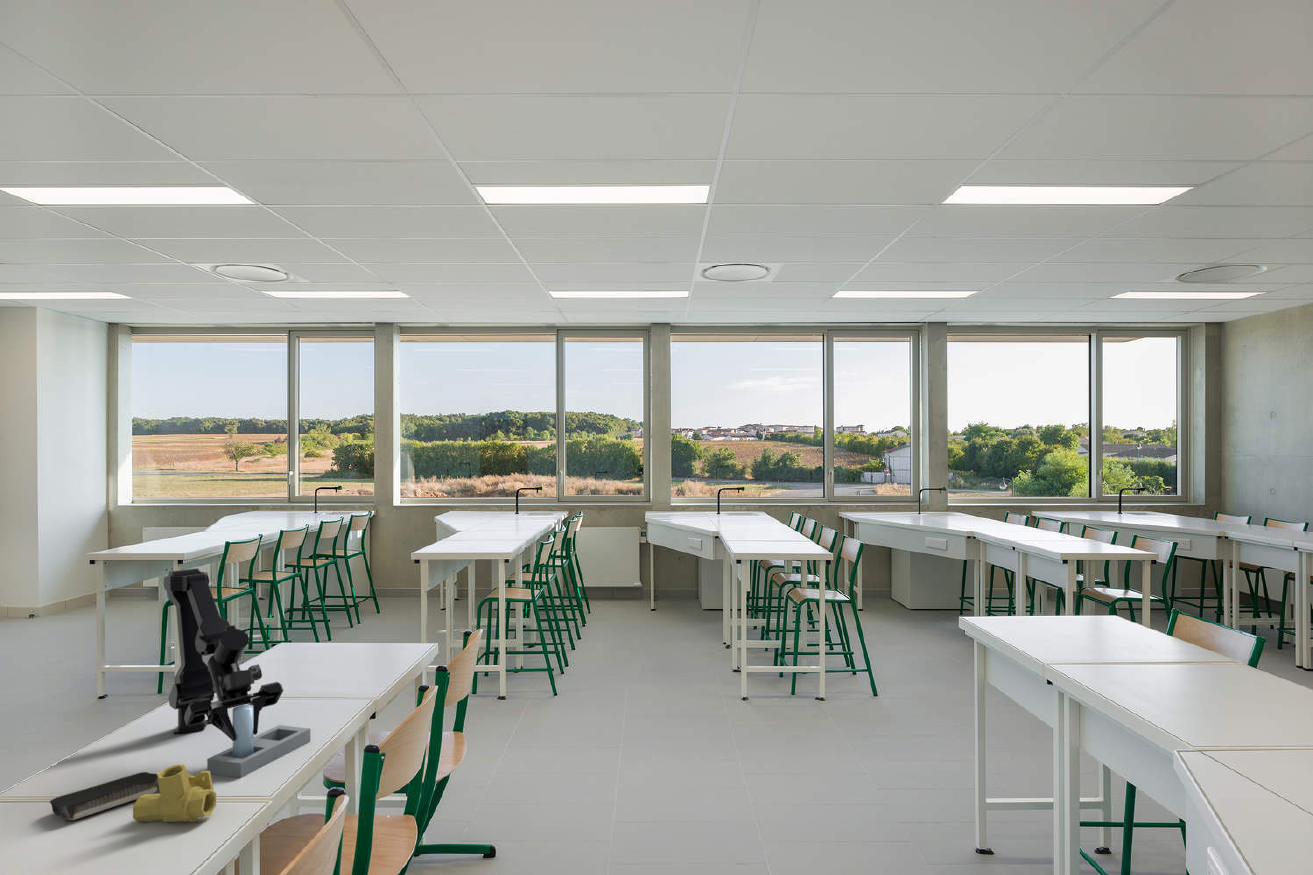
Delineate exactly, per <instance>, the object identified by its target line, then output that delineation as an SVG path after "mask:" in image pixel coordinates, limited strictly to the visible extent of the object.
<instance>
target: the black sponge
mask: <svg viewBox="0 0 1313 875" xmlns="http://www.w3.org/2000/svg"><path fill="white" fill-rule="evenodd" d="M157 774H158V773H152V772H151V773H149V772H147V771H144V772H143V771H142V772H137V773H134V774H131V775H127V776H123V777H121V778H117V779H114V780H111V781H107V782H104V783H101V784H97V785H94V786H90V787H87V788H85V789H81V790H77V791H75V792H71V793H67V794H63V795H60V796H57V797H55V798H53V799H50V800H49V804H51V809H52V812H53V814H55V815H59V816H61V818H62V819H63V820H68V821H69V820H70V821H75V820H77V819H81V818H84V817H87V816H90V815H94V814H97V813H99V812H102V811H105V810H108V809H112V808H114V807H117V806H120V805H124V804H126V803H129V802H132V801H137V799H138V797H140V796H142V795H145V794H156V792H157V791H158V790H160V789H159V783H158V777H157Z"/></svg>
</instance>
